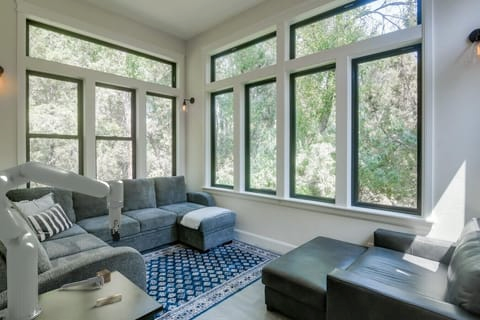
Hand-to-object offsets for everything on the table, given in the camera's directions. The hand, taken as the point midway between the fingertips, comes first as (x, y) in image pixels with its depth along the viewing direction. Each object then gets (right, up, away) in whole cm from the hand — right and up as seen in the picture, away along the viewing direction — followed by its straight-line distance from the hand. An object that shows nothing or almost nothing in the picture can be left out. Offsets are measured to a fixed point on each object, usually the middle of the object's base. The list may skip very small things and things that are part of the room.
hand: (115, 238), depth 128 cm
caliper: (-16, -26, -1) cm, 30 cm away
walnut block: (-9, -25, +6) cm, 27 cm away
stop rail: (+4, -25, -14) cm, 28 cm away
